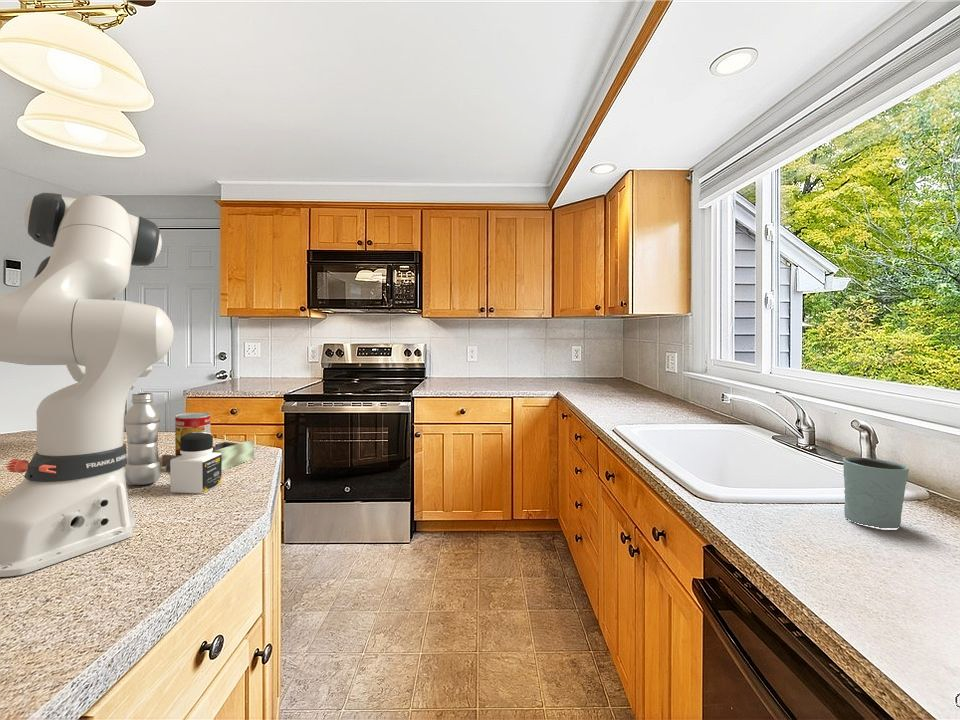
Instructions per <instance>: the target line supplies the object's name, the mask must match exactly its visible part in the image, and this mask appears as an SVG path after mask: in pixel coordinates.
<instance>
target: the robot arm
mask: <svg viewBox="0 0 960 720" xmlns="http://www.w3.org/2000/svg"><path fill="white" fill-rule="evenodd" d="M23 217H24V218H23V219H24V224H25V226H26V229H27V234H28V235H29V237H31V238H32V240H33V241H35V242H37V243H38V244H41V245H44V246H47V247H49V248H52V251H51V254H50V255H49V256H47V257H46V258H45V259H43V260H42V261H40V264H39V266H38V267H37V270H36V272H35V274H34V277H33V279H31V280H30V281H29V282H27V283H26V284H24V285H22V286H20V287H19V288H17V289H15V290H13V291H10V292H8V293H5V294H2V295H0V362H3V363H8V364H9V363H10V364H15V365H16V364H17V365H25V366H66V368H67V371H68V372H69V374H70V375H71V377H72V379H73V381H76V383H74V384H70V385H67V386H65V387H63V388H61V389H58V390H56V391H54V392H53V393H50V394H49V395H47V396H46V397H44V398H43V399H42V400H41V401H40V403H39V405H38V406H37V408H36V411H35V412H36V446H37V447H36V449H37V450H36V451H35V452H34V454H33V455H32V457H31V459H30V462H29V461H28V460H26V459H20V458H12V459H10V460H9V461H8V463H6V466H5V468H6V471H8V472H9V473H18V474H22V473H24V475H23V477H24V479H23V480H22V481H21V482H20V483H19V484H17V485H16V486H15V487H13V489H12V490H10V491H9V492H8V493H7V494H5V495H4V496H3V497H2V498H1V499H0V578H3V577H15V576H22V575H25V574H28V573H31V572H34V571H37V570H39V569H43V568H46V567H49V566H52V565H55V564H57V563H61V562H63V561H66V560H69V559H71V558H74V557H77V556H80V555H82V554H83V555H84V554H86V553H89V552H92V551H94V550H97V549H101V548H103V547H106V546H109V545H112V544H114V543H115V544H116V543H118V542H120V541H124V540H126V539H129V538H131V537H132V536H134V531H133V528H134V527H135V525H136V523H137V521H136V517H135V515H134V513H133V510H132V507H131V502H130V500H129V494H128V488H127V481H126V478H125V468H126V464H127V455H128V449H127V444H126V443H125V442H124V427H125V423H124V417H125V414H126V413H125V411H126V404H127V399H128V396H129V393H130V391H131V390H134V389H135V387H136V385H135V383H136V381H137V379H139V378H145V377H147V376H148V375H150V374H151V372H152V371H153V365H154V364H155V363H157V362H159V361H160V360H162V359H163V358H164V357H165V356H166V355H167V354H168V353H169V351H170V349H171V348H172V346H173V343H174V339H175V330H174V326H173V325H174V324H172V321H171V319H170V317H169V316H168V314H167V313H166V312H165V311H164V310H163V309H162V308H161V307H159V306H156V305H155V306H154V305H150V304H146V303H141V302H136V301H132V300H118V299H114V298H116V297H118V296H119V295H120V294H121V293H122V292H123V291H124V290H125V289H126V288H127V286H128V284H129V282H130V277H131V276H130V274H131V269H132V266H137V267H138V266H139V267H145V266H147V267H148V266H149V265H151V264H153V263H154V262H155V260H156V259H157V257H158V256H159V254H160V253H161V250H162V246H163V239H162V235H161V230H160V228H159V226H158V225H157V224H156V223H155V222H153V221H152V220H150V219H147V218H145V217H143V216H135V215H134V214H131V213H128V212H127V210H126V209H125V207H123V206H122V205H121V204H120V203H118V202H117V201H116V200H113V199H111V198H109V197H106V196H103V195H98V194H97V195H96V194H88V195H82V196H79V197H78V198H74V197H70V196H69V197H67V196H63V195H62V194H61V193H56V192H55V193H53V192H41V193H38V194H35V195H34V196H33V199H31V200H30V201H29V203H28V204H27V205H26V207H25V211H24V214H23Z"/></svg>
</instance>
